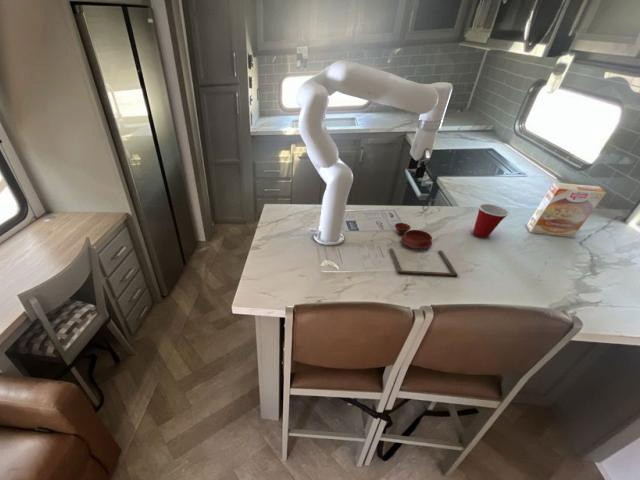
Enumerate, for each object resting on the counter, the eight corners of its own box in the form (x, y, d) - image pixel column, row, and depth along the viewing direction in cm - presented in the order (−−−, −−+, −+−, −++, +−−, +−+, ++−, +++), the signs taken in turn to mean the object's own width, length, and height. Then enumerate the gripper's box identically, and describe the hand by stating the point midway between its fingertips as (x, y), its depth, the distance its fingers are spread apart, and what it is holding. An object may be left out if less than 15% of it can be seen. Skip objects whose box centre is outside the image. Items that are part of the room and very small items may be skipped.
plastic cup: (500, 242, 131) (515, 215, 124) (471, 240, 133) (484, 213, 125) (490, 229, 139) (503, 203, 131) (463, 228, 141) (475, 202, 133)
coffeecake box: (530, 232, 136) (558, 188, 123) (526, 225, 141) (552, 181, 128) (573, 238, 131) (607, 192, 119) (567, 230, 136) (599, 185, 124)
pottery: (410, 254, 127) (413, 244, 124) (384, 230, 142) (387, 221, 139) (436, 250, 128) (440, 241, 125) (408, 227, 143) (411, 218, 140)
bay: (398, 274, 118) (399, 271, 117) (389, 250, 130) (390, 248, 129) (456, 276, 115) (457, 274, 114) (441, 252, 127) (442, 250, 127)
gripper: (412, 119, 119) (400, 165, 131) (424, 131, 107) (410, 181, 118) (433, 118, 118) (419, 165, 129) (448, 130, 105) (431, 181, 117)
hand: (415, 173), depth 124 cm, fingers open, 9 cm apart
